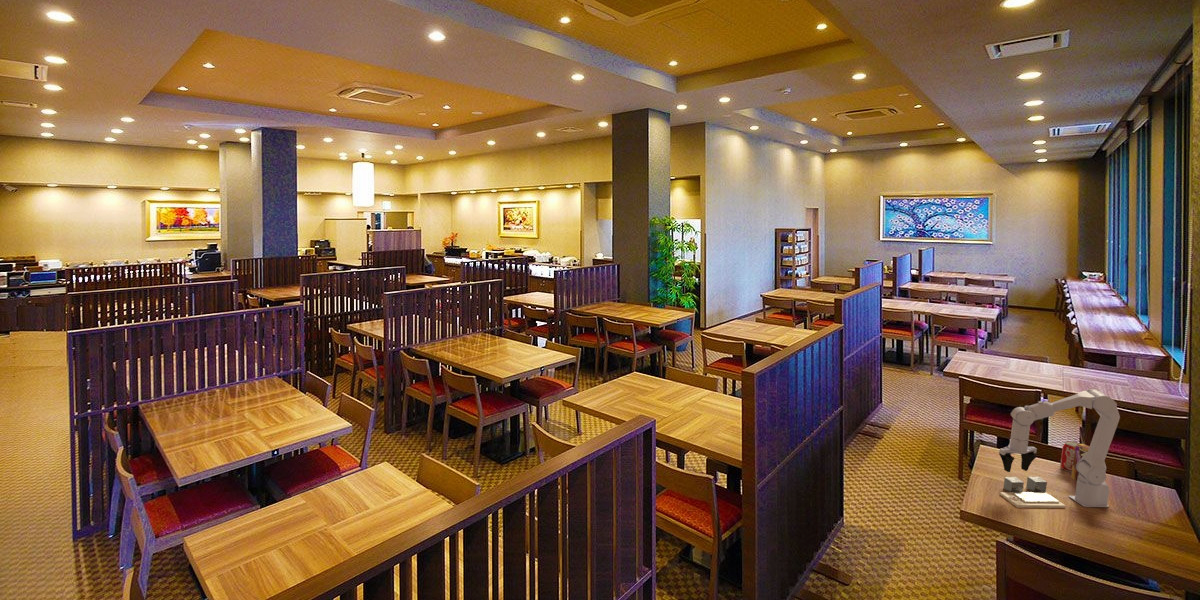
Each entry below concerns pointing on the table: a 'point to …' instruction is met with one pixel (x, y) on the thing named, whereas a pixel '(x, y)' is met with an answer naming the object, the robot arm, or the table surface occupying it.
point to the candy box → (1078, 458)
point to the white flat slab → (1035, 497)
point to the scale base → (1021, 504)
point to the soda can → (1068, 455)
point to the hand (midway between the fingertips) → (1015, 470)
